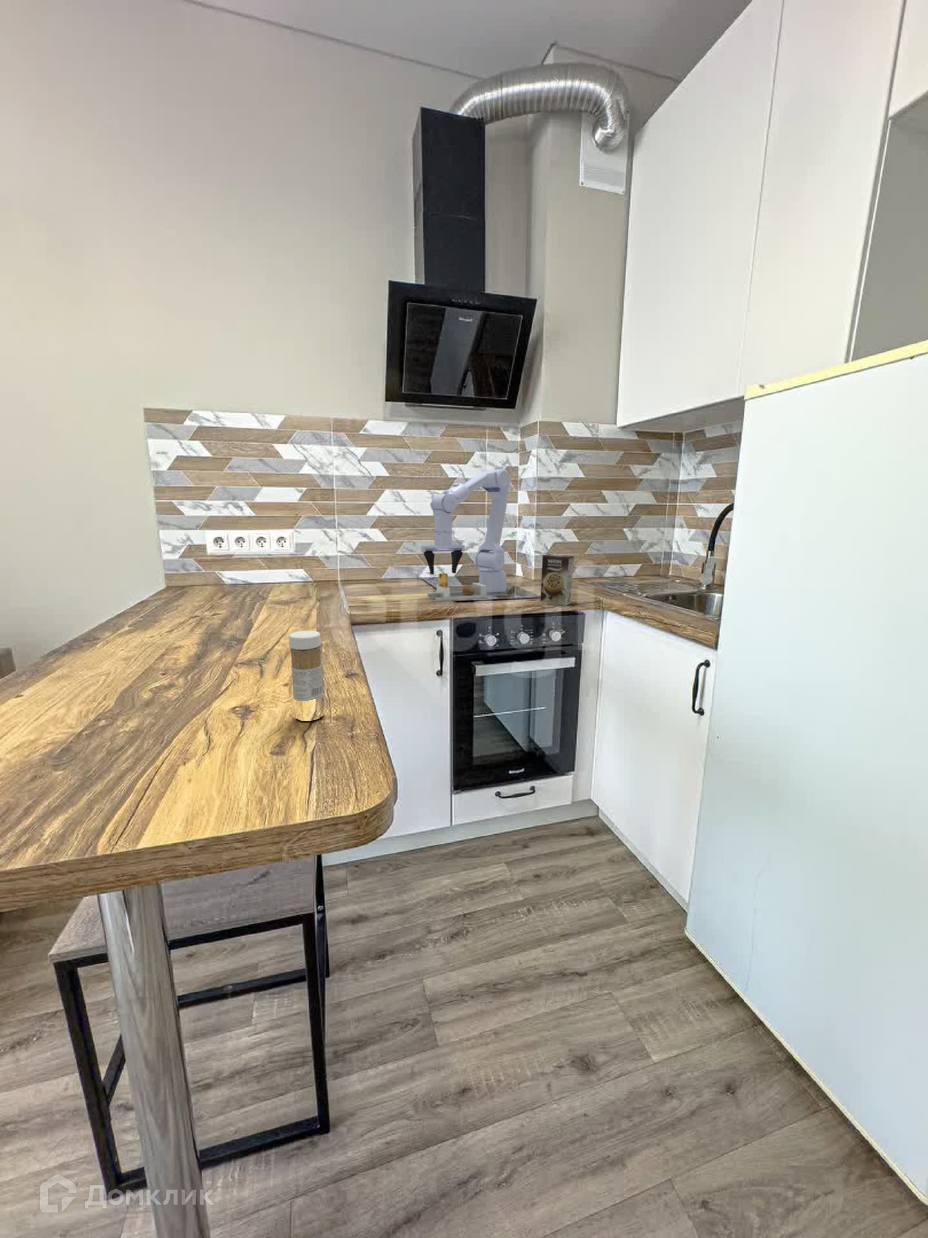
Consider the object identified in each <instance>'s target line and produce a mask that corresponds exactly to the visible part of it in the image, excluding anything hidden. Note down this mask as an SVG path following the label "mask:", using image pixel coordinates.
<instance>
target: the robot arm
mask: <svg viewBox="0 0 928 1238" xmlns="http://www.w3.org/2000/svg"><path fill="white" fill-rule="evenodd" d="M510 484H511V476H510V473H509V472H508V470H506V469H505V468H500V469H483V470H481V471H479V472H477V474H476V475H475V476H473V477H472V478H471V479H469V480H467V481H466V482H464V483H461V482H460V483H458V482H456V483H453V484H452V487H451V488H448V489H445V490H443V492H442V494H440V493H437V494H435V495H434V496H433V497H432V499H431V502H430V503H429V504H430V508H431V511H432V513H433V514H432V515H433V518H434V520H433V522H434V525H433V526H434V527H433V528H434V534H433V535H434V539H433V541H434V543H433V544H431V545H429V544H427V545H421V546H420V551H421V553H423V556H424V557H425V559H426V563H427V566H428V570H429V574H430V575H434V574H435V567H434V566H435V555H436V554H435V552H450V554H451V555H450V556H451V573H452V574H456V573H457V568H458V566H459V563H460V560H461V559H462V557H463V552H465V551H466V546H465V545H463V544H453V541H452V540H453V534H452V533H453V512H454V511H455V510H456V507H457V506H458V505H459V504H462V503H464V501H466V500H467V499H468V498H469V496H470V494H471V493H472V492H474V491H475V490H477V489H479V488H480V489H481V488H482V489H483V490H484V491H485V492H486V493H487V494H488V495H489V496H490V497H491V499H492V500H491V505H490V511H489V515H488V521H487V527H486V533H485V538H484V542H483V543H482V544H481V545H480V546H479V547H478V550H477V553H476V554H475V557H474V563H475V566H476V567H477V570H478V571H479V573H478V575H479V576H478V577H479V579H478V580H479V581H478V583H480V584H483V585H485V586H486V593H499V592H500V593H503V592H507V574H506V572H505V570H502V568H503V567H504V565H505V552H506V551H505V548H503V547H502V546H501V538H502V534H503V528H504V522H505V516H506V512H507V511H506V510H507V506H508V500H509V491H510Z"/></svg>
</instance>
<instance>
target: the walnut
mask: <svg viewBox="0 0 928 1238" xmlns="http://www.w3.org/2000/svg"><path fill="white" fill-rule="evenodd" d="M461 591H462V592H463V594H464V595H465V596H472V595H473V593H474V588H473V587H472V584H466V585H464V586H463V588H462V590H461Z"/></svg>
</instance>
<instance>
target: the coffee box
mask: <svg viewBox="0 0 928 1238" xmlns="http://www.w3.org/2000/svg"><path fill="white" fill-rule="evenodd" d="M541 560H542V562H541V582H540V600H539V601H541V602H543V603H545V604H548V605H554V606H562V607H563V606H564V607H567V606H568V605H570V604H571V603H572V602H571V601H572V590H573V589H572V587H573V573H574V572H573V571H574V560H575V556H574V555H563V554H543V555H542V559H541Z"/></svg>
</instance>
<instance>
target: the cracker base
mask: <svg viewBox="0 0 928 1238" xmlns="http://www.w3.org/2000/svg"><path fill="white" fill-rule="evenodd" d="M471 586H472V587H473V588H474V593H473V595H472V596H465V595H464V594H463V592H462V590H461V591H450V597H439V596H437V592H427V594H426V596H427V597H428V598H429V599H432V600H433V601H435V602H452V601H470V600H485V599H486V600H488V598H487V592H486V586H485V585H483V584H480V583H479V582H472V583H471Z"/></svg>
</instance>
